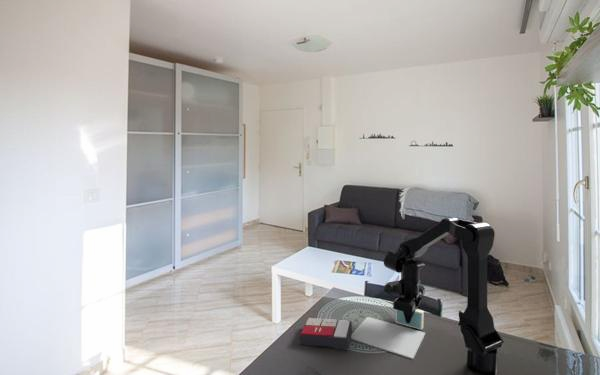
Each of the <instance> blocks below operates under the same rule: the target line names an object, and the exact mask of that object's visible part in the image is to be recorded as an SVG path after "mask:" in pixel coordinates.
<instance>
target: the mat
mask: <svg viewBox="0 0 600 375" xmlns="http://www.w3.org/2000/svg"><path fill="white" fill-rule="evenodd" d="M425 335H426V332H424V331H421V330H418V329H417V330H416V329H415V328H414V329H413V328H411V327H407V326H404V325H400V324H397V323H391V322H388V321H384V320H382V319H381V320H380V319H377V318H374V317H370V316H367V317H366V318H364V320H363V321H362V322H361V323H360V324H359V325H358V327H357V328H356V329H355V330H354V331H352V334H351V339H350V340H353V341H356V342H358V343H362V344H365V345H369V346H371V347H373V348H377V349H380V350H384V351H386V352H390V353H392V354H396V355H399V356H402V357H405V358H407V359H411V360H414V359H415V356H416V354H417V352H418V350H419V348H420V346H421V344H422V343H423V340H424V337H425Z"/></svg>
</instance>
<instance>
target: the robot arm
mask: <svg viewBox="0 0 600 375" xmlns="http://www.w3.org/2000/svg"><path fill="white" fill-rule="evenodd" d="M448 235H451V236H452V237H453V238H455V239H458V240H460V244H461V248H462V249H463V250H464V252H465V254H466V269H467V270H466V278H467V279H466V280H467V281H466V290H467V291H466V297H467V299H466V300H467V301H466V302H467V304H466V307H465V309H462V310H459V311H458V325H457V326H459V327H460V332H461V334H462V336H463V341H464V344H465V347H466V349H467V353H466V354H467V355H466V357H467V358H466V365H468V368H467V370H468V371H469V372H471V373H475V374H477V375H497V369H498V365H497V362H498V361H497V358H498V349H500V348H502V347H503V345H504V343H505V342H504V340H503V338H502V337H501V336H500V334H499V332H498V331H497V329H496V328H495V324H494V323H495V322H494V317H493V316H492V313H491V312H490V311H489V308H488V256H489V254H490V253H491V250H492V248H493V247H494V243H495V242H494V241H495V235H496V234H495V229H494V228H493V227H492V226H491V225H490V224H488V222H487V223H486V222H475V221H472V220H471V221H470V220H466V219H460V218H459V217H458V218H457V217H456V216H451V217H444V218H442V219H441V220H440V221H439V222H437V223H436V224H435V225H433V226H432V227H430V228H429V229H427V230H426V231H424V232H423V233H422V234H419V235H418V236H416V237H415V238H414V237H413V238H410V239H407V240H404V241H402V242H400V243H399V246H398V249H397V250H396V251H395V250H393V249H391V250H388V252H387V254H386V256H385V257H384V259H383V266H384V267H385V268H387V269H389V270H392V271H393V272H396V273H398V274H400V273H401V278H400V280H394V281H393V280H392V281H388V282H387V283H386V284H384V286H383V292H385V293H386V295H387V296H390V295H392V294H393V295H394V294H398V297H397V298H395V299H394V301H393V302H392V308H393V309H394V310H395V311H396V310H400V311H403V313H404V317H405V320H406V323H410V321H411V319H412V317H413V314H414V312H415V310H416V309H418V307H419V306H420V304H421V302H422V297H424V295H425V294H426V288H425V287H424V285H422V284H421V281H422V280H421V279H420V269H422V268H425V267H426V265H425V264H424V262H422V260H421V259H414V258H419V257H422V256H423V255H424V254H425V253H427V250H428V249H429V247H430V246H431V245H434V244H435V243H438V241H440V240H442V239H443V238H445V237H447V236H448ZM420 295H421V296H422V297H421V296H420ZM402 296H403V297H402Z"/></svg>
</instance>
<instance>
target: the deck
mask: <svg viewBox="0 0 600 375" xmlns="http://www.w3.org/2000/svg"><path fill="white" fill-rule="evenodd" d="M424 312H425V311H424V310H422V309H418V308H417V309H416V310H415V312H414V314H413V317H412V319H411V321H410V323H406V320H405V317H404V313H403V311H400V310H396V309H395V323H394V324H398V325H401V326H405V327H409V328H412V329H413V328H414V329H417V330H419V331H421V330H423V329H424V321H425V320H424V314H425V313H424Z"/></svg>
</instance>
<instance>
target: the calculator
mask: <svg viewBox="0 0 600 375" xmlns="http://www.w3.org/2000/svg"><path fill="white" fill-rule="evenodd" d="M352 324H353V323H352V321H351V320H344V319H343V320H341V319H339V320H338V319H335V318H334V319H333V318H317V317H315V318H313V317H308V319H307V320H306V322H305V324H304V326H302V327H303V328H302V329H301V332H300V334H299V344H300V345H303V346H316V347H330V348H331V347H332V348H334V349H335V350H344V351H347V350H349V348H350V344H351V343H350V342H351V340H352V339H351V334H352V333H353V328H352Z"/></svg>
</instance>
